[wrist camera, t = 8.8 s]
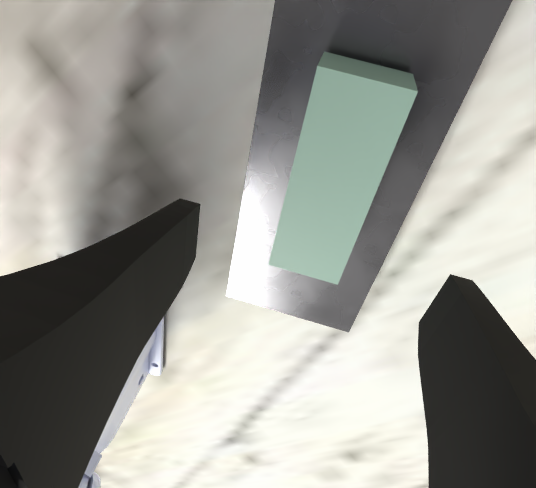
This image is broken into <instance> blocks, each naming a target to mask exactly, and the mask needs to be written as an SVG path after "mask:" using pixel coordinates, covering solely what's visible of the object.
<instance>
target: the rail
mask: <svg viewBox="0 0 536 488" xmlns="http://www.w3.org/2000/svg"><path fill="white" fill-rule="evenodd" d="M511 2H512V0H275V5H274V11H273V17H272V23H271V29H270V35H269V41H268V47H267V53H266V59H265V65H264V71H263V77H262V83H261V89H260V95H259V101H258V107H257V113H256V119H255V125H254V131H253V137H252V143H251V149H250V155H249V161H248V167H247V173H246V179H245V185H244V191H243V196H242V202H241V208H240V214H239V220H238V226H237V232H236V238H235V244H234V250H233V256H232V262H231V268H230V274H229V280H228V286H227V292H226V296H227V297H230V298H234V299H237V300H241V301H244V302H247V303H251V304H254V305H258V306H261V307H264V308H268V309H271V310H275V311H278V312H281V313H285V314H288V315H292V316H295V317H298V318H302V319H305V320H309V321H312V322H315V323H319V324H322V325H326V326H329V327H332V328H336V329H339V330H343V331H346V332H349V331H350V329H351V327H352V325H353V323H354V321H355V319H356V317H357V315H358V313H359V310H360V308H361V306H362V304H363V302H364V300H365V298H366V296H367V294H368V292H369V290H370V288H371V286H372V284H373V282H374V280H375V278H376V276H377V274H378V272H379V270H380V268H381V266H382V264H383V262H384V260H385V258H386V256H387V254H388V252H389V250H390V248H391V246H392V244H393V241H394V239H395V237H396V235H397V233H398V231H399V229H400V227H401V225H402V223H403V221H404V219H405V217H406V215H407V213H408V211H409V209H410V207H411V205H412V203H413V201H414V199H415V197H416V195H417V193H418V191H419V189H420V187H421V185H422V183H423V181H424V179H425V177H426V175H427V172H428V170H429V168H430V166H431V164H432V162H433V160H434V158H435V156H436V154H437V152H438V150H439V148H440V146H441V144H442V142H443V140H444V138H445V136H446V134H447V132H448V130H449V128H450V126H451V124H452V122H453V120H454V118H455V116H456V114H457V112H458V110H459V108H460V106H461V103H462V101H463V99H464V97H465V95H466V93H467V91H468V89H469V87H470V85H471V83H472V81H473V79H474V77H475V75H476V73H477V71H478V69H479V67H480V65H481V63H482V61H483V59H484V57H485V55H486V53H487V51H488V49H489V47H490V45H491V43H492V41H493V39H494V37H495V34H496V32H497V30H498V28H499V26H500V24H501V22H502V20H503V18H504V16H505V14H506V12H507V10H508V8H509V6H510V4H511ZM324 51H325V52H329V53H333V54H337V55H340V56H344V57H348V58H352V59H356V60H360V61H364V62H368V63H372V64H376V65H380V66H384V67H388V68H392V69H396V70H400V71H404V72H407V73H411V74H413V76H414V79H415V83H416V86H417V90H418V93H417V95H416V97H415V100H414V102H413V105H412V107H411V109H410V112H409V114H408V117H407V119H406V122H405V124H404V126H403V129H402V131H401V134H400V136H399V138H398V141H397V143H396V146H395V148H394V150H393V153H392V155H391V158H390V160H389V162H388V165H387V167H386V170H385V172H384V175H383V177H382V179H381V182H380V184H379V187H378V189H377V191H376V194H375V196H374V199H373V201H372V203H371V206H370V208H369V211H368V213H367V215H366V218H365V220H364V223H363V225H362V228H361V230H360V232H359V235H358V237H357V240H356V242H355V244H354V247H353V249H352V252H351V254H350V256H349V259H348V261H347V264H346V266H345V268H344V271H343V273H342V276H341V278H340V281H339V283H338V285H337V284H333V283H330V282H326V281H323V280H319V279H316V278H313V277H309V276H306V275H302V274H299V273H295V272H292V271H288V270H285V269H281V268H278V267H274V266H271V265H268V264H269V259H270V255H271V251H272V247H273V243H274V239H275V235H276V231H277V227H278V223H279V219H280V215H281V211H282V207H283V203H284V199H285V195H286V191H287V187H288V183H289V179H290V175H291V170H292V166H293V162H294V158H295V154H296V150H297V146H298V142H299V138H300V134H301V130H302V126H303V122H304V118H305V114H306V110H307V106H308V102H309V98H310V94H311V90H312V86H313V81H314V77H315V73H316V69H317V65H318V63H319V61H320V59H321V57H322V55H323V53H324Z"/></svg>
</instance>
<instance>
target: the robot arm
mask: <svg viewBox="0 0 536 488" xmlns="http://www.w3.org/2000/svg"><path fill="white" fill-rule="evenodd" d="M199 213H200V204H198V203H194V202H190V201H187V200H183V199H178V200H176V201H175V202H173V203H171V204H169V205H168V206H166V207H164V208H162V209H160V210H159V211H157V212H155V213H154V214H152V215H150V216H148V217H146V218H145V219H143V220H141V221H139V222H137V223H136V224H134V225H132V226H130V227H128V228H126V229H125V230H123V231H121V232H118V233H116V234H114V235H112V236H110V237H108V238H106V239H104V240H102V241H100V242H98V243H96V244H94V245H91V246H89V247H87V248H84V249H82V250H79V251H77V252H74V253H72V254H69V255H66V256H64V257H61V258H59V259H56V260H53V261H50V262H47V263H44V264H41V265H37V266H34V267H31V268H28V269H24V270H21V271H18V272H15V273H11V274H8V275H4V276H0V488H101V482H100V477H99V475H98V474H97V473H95V472H94V470H95V468H96V466H97V464H98V463H99V461H100V459H101V457H102V455H101V454H100V453H101V452H102V451H103V450H104V449H105V448H106V447H107V446H108V445H109V444H110V443H111V441H112V440H113V438H114V437H115V435H116V433H117V431H118V429H119V427H120V425H121V424H122V422H123V420H124V418H125V416H126V414H127V412H128V410H129V409H130V407H131V405H132V403H133V401H134V399H135V397H136V395H137V393H138V392H139V390H140V388H141V386H142V384H143V382H144V380H145V378H146V377H147V375H148V373H149V374H152V375H155V376H159V375H161V373H162V371H163V340H164V315H165V314H166V312H167V310H168V309H169V307H170V306H171V304H172V302H173V301H174V299H175V298H176V296H177V294H178V293H179V291H180V289H181V288H182V286H183V284H184V282H185V280H186V278H187V276H188V274H189V271H190V269H191V267H192V265H193V262H194V260H195V257H196V246H197V235H198V224H199ZM418 359H419V368H420V377H421V386H422V394H423V402H424V410H425V419H426V427H427V437H428V462H429V488H536V360H535V358H534V357H533V356H532V355H531V354H530V352H529V351H528V350H527V349H526V347H525V346H524V345H523V344H522V343H521V341H520V340H519V339H518V338H517V336H516V335H515V334H514V332H513V331H512V330H511V329H510V327H509V326H508V325H507V323H506V322H505V321H504V320H503V318H502V317H501V316H500V314H499V313H498V312H497V310H496V309H495V308H494V307H493V305H492V304H491V303H490V301H489V300H488V299H487V297H486V296H485V295H484V294H483V292H482V291H481V290H480V289H479V287H478V286H477V285H476V284H475V283H474V282H473V281H472V280H469V279H465V278H462V277H458V276H454V275H451V274H450V276H449V277H448V279H447V280H446V282H445V283H444V285H443V286H442V288H441V289H440V291H439V293H438V294H437V296H436V297H435V299H434V300H433V302H432V303H431V305H430V306H429V308H428V309H427V311H426V312H425V314H424V316H423V317H422V319H421V320H420V322H419V335H418Z"/></svg>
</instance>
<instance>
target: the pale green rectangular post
mask: <svg viewBox="0 0 536 488" xmlns="http://www.w3.org/2000/svg"><path fill="white" fill-rule="evenodd" d="M417 93H418V90H417V86H416V83H415V79H414V76H413V74H411V73H407V72H404V71H400V70H396V69H392V68H388V67H384V66H380V65H376V64H372V63H368V62H364V61H360V60H356V59H352V58H348V57H344V56H340V55H337V54H333V53H329V52H325V51H324V53H323V55H322V57H321V59H320V61H319V63H318V65H317V69H316V73H315V77H314V81H313V86H312V90H311V94H310V98H309V102H308V106H307V110H306V114H305V118H304V122H303V126H302V130H301V134H300V138H299V142H298V146H297V150H296V154H295V158H294V162H293V166H292V170H291V175H290V179H289V183H288V187H287V191H286V195H285V199H284V203H283V207H282V211H281V215H280V219H279V223H278V227H277V231H276V235H275V239H274V243H273V247H272V251H271V255H270V259H269V264H268V265H271V266H274V267H278V268H281V269H285V270H288V271H292V272H295V273H299V274H302V275H306V276H309V277H313V278H316V279H319V280H323V281H326V282H330V283H333V284H337V285H338V283H339V281H340V278H341V276H342V273H343V271H344V268H345V266H346V264H347V261H348V259H349V256H350V254H351V252H352V249H353V247H354V244H355V242H356V240H357V237H358V235H359V232H360V230H361V228H362V225H363V223H364V220H365V218H366V215H367V213H368V211H369V208H370V206H371V203H372V201H373V199H374V196H375V194H376V191H377V189H378V187H379V184H380V182H381V179H382V177H383V175H384V172H385V170H386V167H387V165H388V162H389V160H390V158H391V155H392V153H393V150H394V148H395V146H396V143H397V141H398V138H399V136H400V134H401V131H402V129H403V126H404V124H405V122H406V119H407V117H408V114H409V112H410V109H411V107H412V105H413V102H414V100H415V97H416V95H417Z"/></svg>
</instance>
